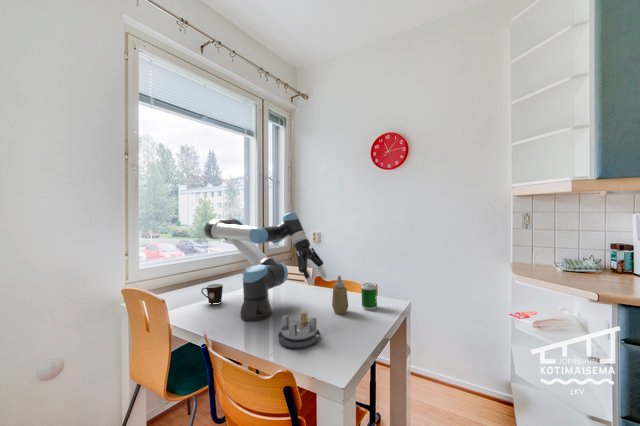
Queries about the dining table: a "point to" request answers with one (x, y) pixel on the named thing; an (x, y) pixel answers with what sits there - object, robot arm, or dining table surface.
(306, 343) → the mounting flange
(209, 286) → the coffee mug
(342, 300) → the squeeze bottle
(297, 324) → the four-lug metal disc
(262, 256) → the robot arm
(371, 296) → the soda can
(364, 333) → the dining table surface
